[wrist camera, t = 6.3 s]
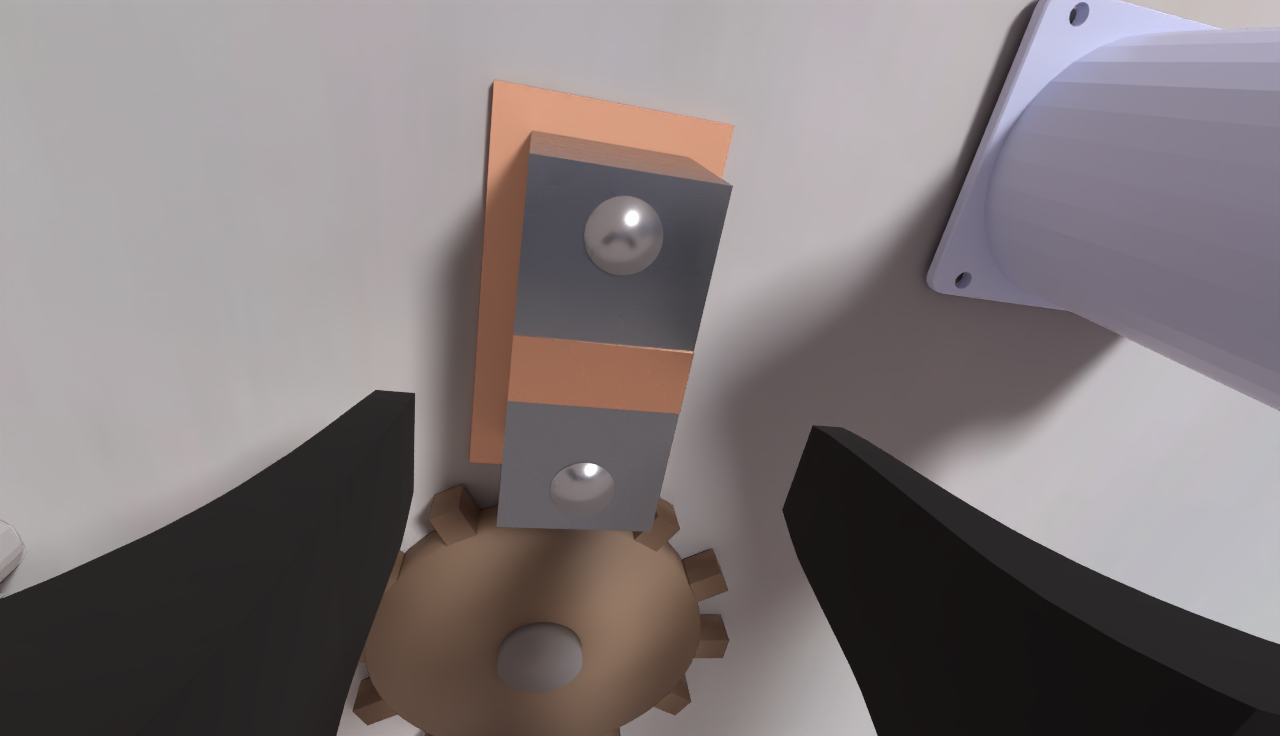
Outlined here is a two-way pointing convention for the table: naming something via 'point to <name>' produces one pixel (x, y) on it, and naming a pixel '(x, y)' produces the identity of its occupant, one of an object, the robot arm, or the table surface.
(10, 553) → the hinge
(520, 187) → the copper rectangular plate
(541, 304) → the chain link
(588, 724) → the sprocket
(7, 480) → the table surface
